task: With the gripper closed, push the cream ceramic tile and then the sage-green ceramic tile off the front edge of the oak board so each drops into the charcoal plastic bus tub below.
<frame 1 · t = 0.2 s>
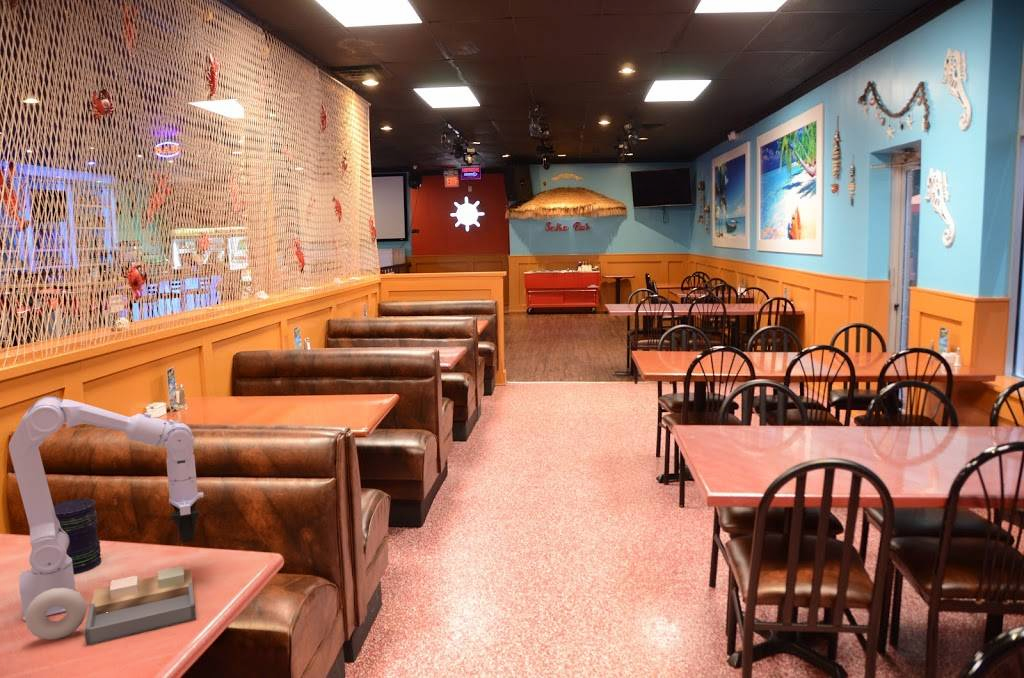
hand: (187, 535, 161), 10 cm above the table, tool pointing down, fingers open, 7 cm apart
cream tile: (125, 591, 151), point 2 cm above the table, touching oak board
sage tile: (171, 581, 155), point 2 cm above the table, touching oak board
storage jar: (78, 566, 169), on the table
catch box: (143, 618, 143), on the table
donut: (59, 638, 137), on the table
oak board: (144, 596, 153), on the table
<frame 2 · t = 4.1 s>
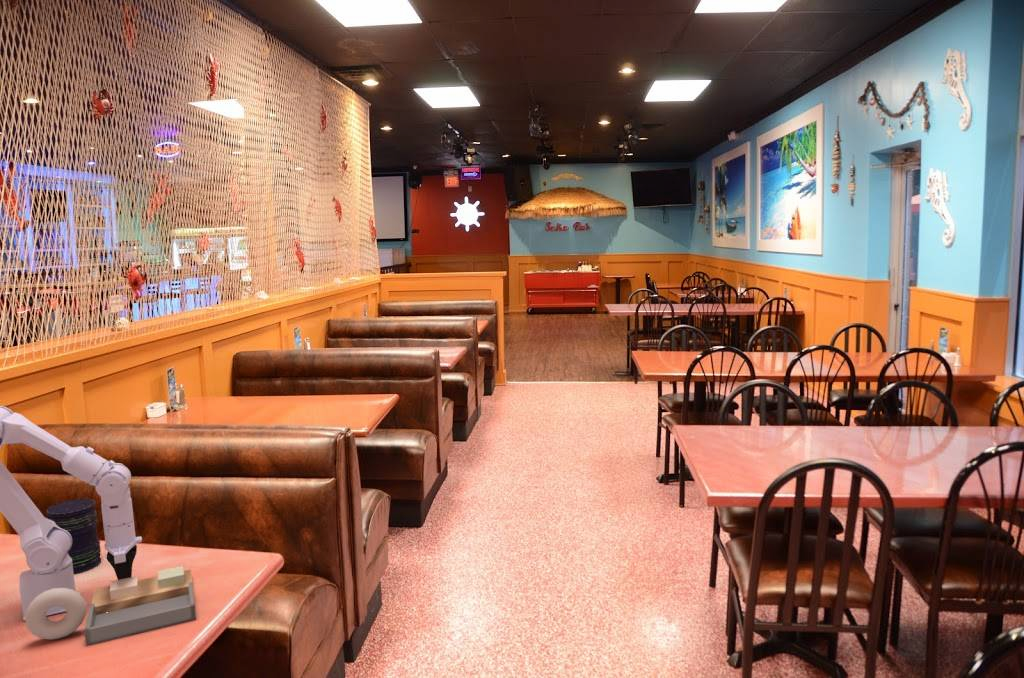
hand: (125, 582, 154), 3 cm above the table, tool pointing down, fingers closed
cream tile: (124, 592, 151), point 2 cm above the table, touching gripper
everything else where it was.
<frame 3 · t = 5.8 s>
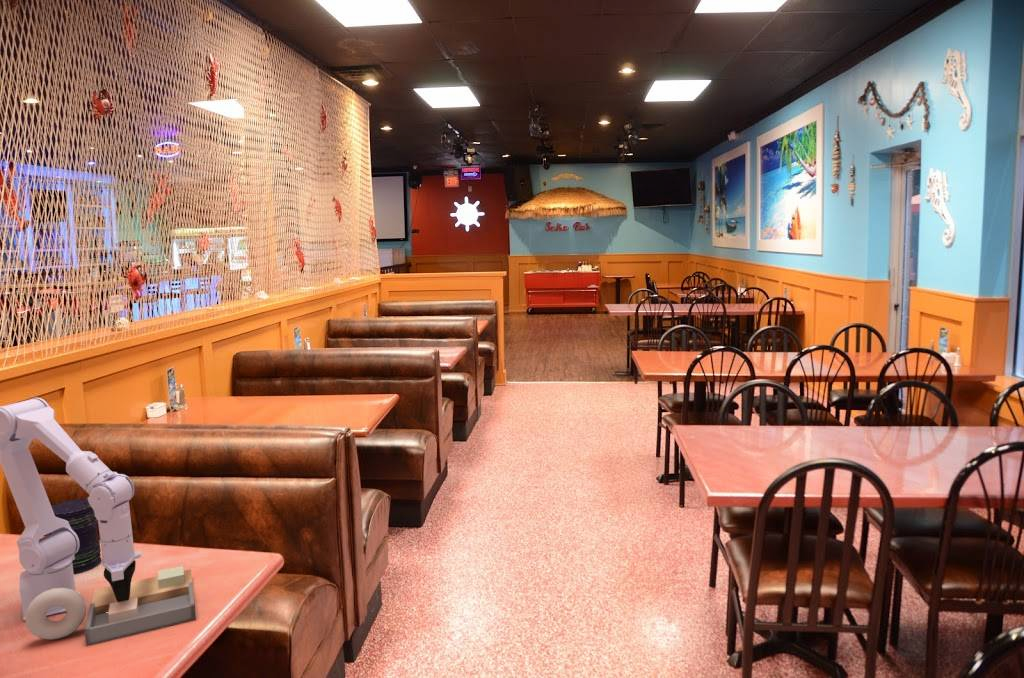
hand: (123, 599, 146), 3 cm above the table, tool pointing down, fingers closed
cream tile: (124, 615, 144), resting on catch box
everything else where it was.
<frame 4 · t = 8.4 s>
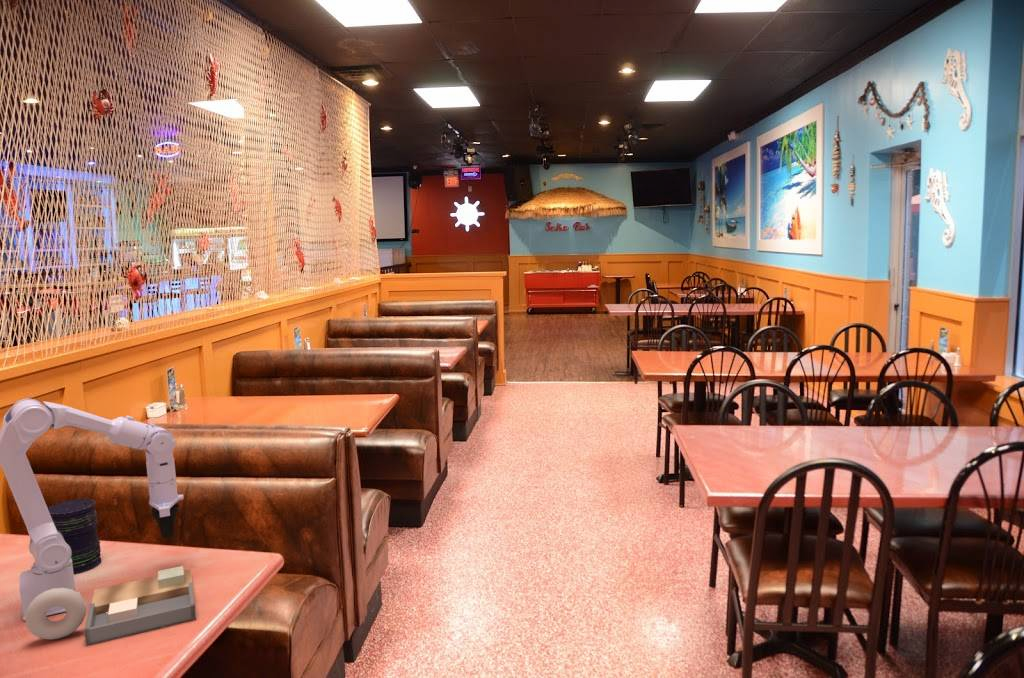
hand: (168, 536, 163), 8 cm above the table, tool pointing down, fingers closed
nothing on the table moved.
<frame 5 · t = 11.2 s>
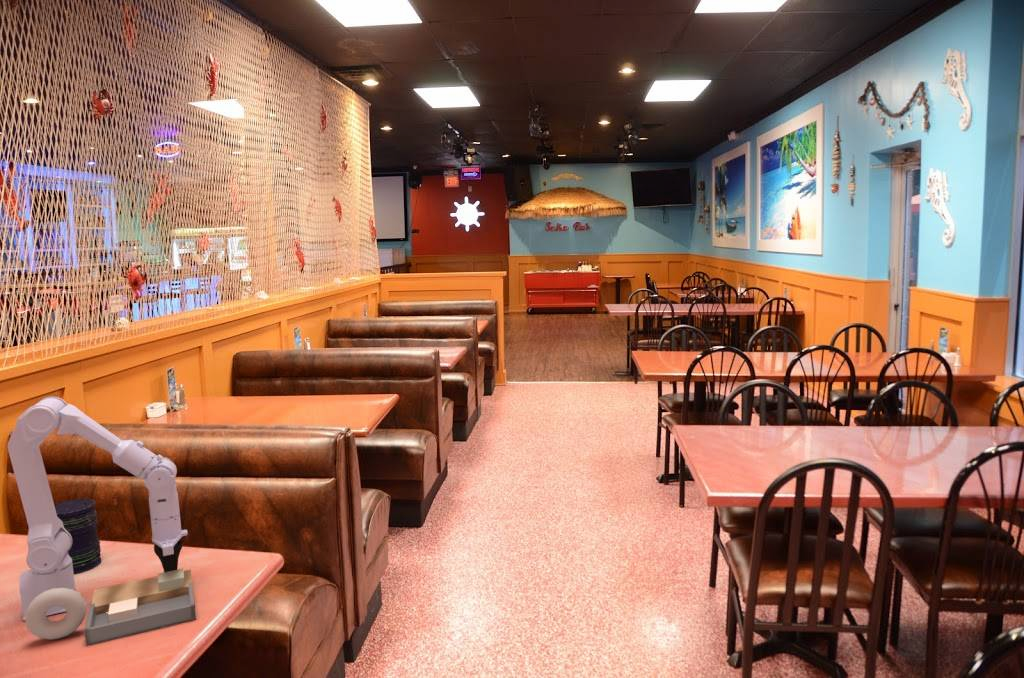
hand: (171, 574, 157), 3 cm above the table, tool pointing down, fingers closed
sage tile: (171, 584, 154), point 2 cm above the table, touching gripper, oak board
everything else where it was.
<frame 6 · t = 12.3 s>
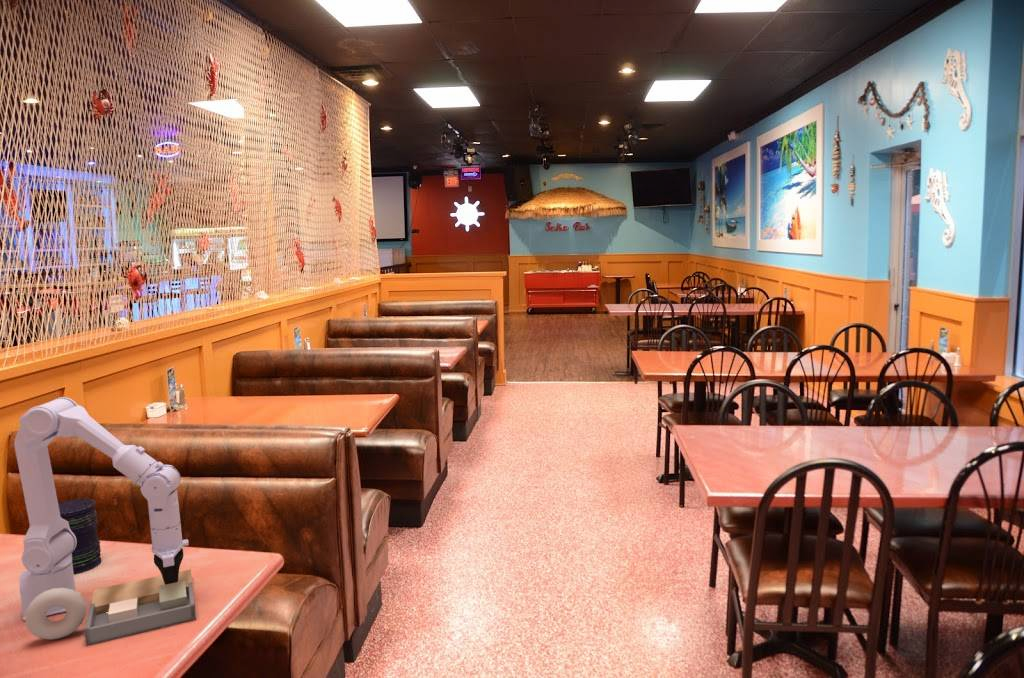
hand: (171, 585, 151), 3 cm above the table, tool pointing down, fingers closed
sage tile: (173, 598, 149), point 1 cm above the table, tilted 17°, touching gripper
everything else where it was.
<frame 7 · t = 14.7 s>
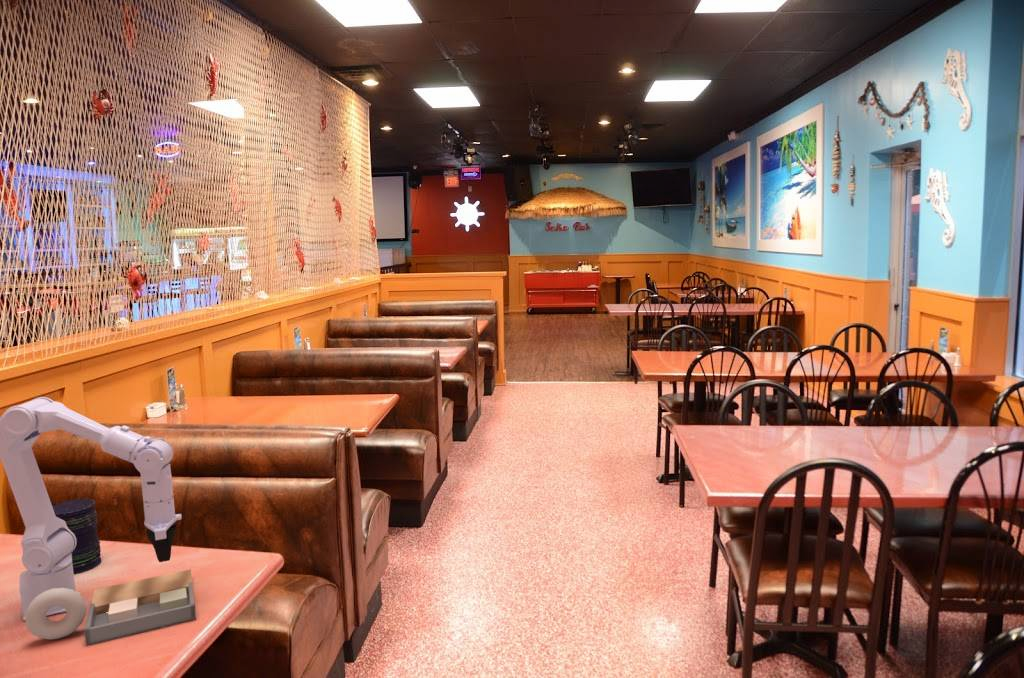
hand: (164, 560, 151), 9 cm above the table, tool pointing down, fingers closed
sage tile: (174, 604, 148), resting on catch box
everything else where it was.
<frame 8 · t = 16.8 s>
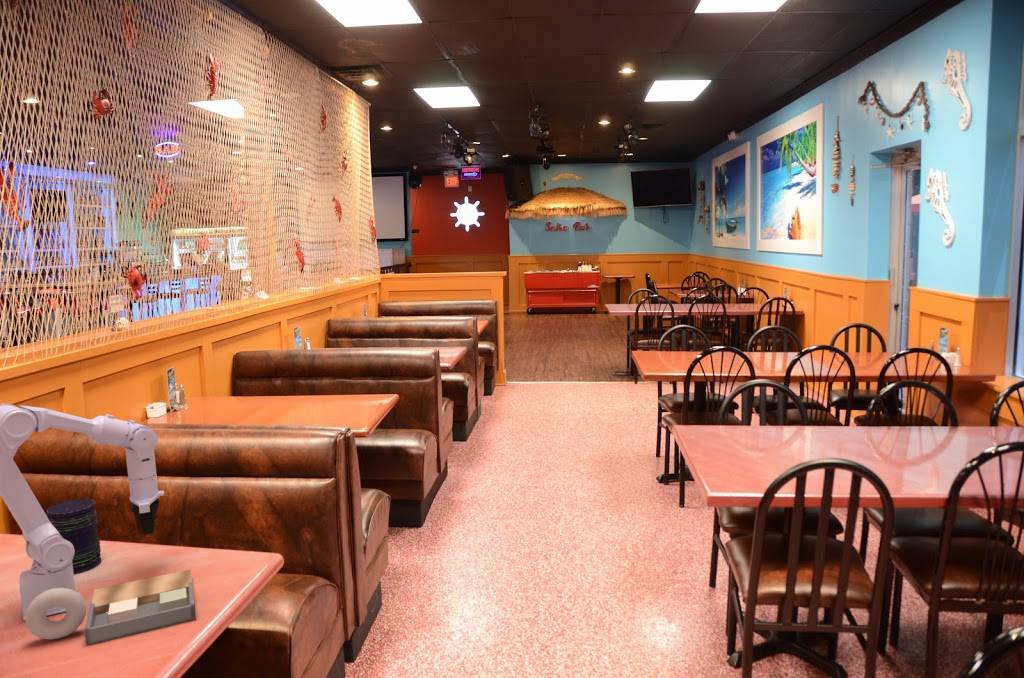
hand: (148, 533, 164), 9 cm above the table, tool pointing down, fingers closed
nothing on the table moved.
at the end: cream tile inside the target area on the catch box (4.4 cm from its centre), point 0.4 cm above the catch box's base; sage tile inside the target area on the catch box (6.1 cm from its centre), point 0.4 cm above the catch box's base; the gripper is holding nothing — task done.
